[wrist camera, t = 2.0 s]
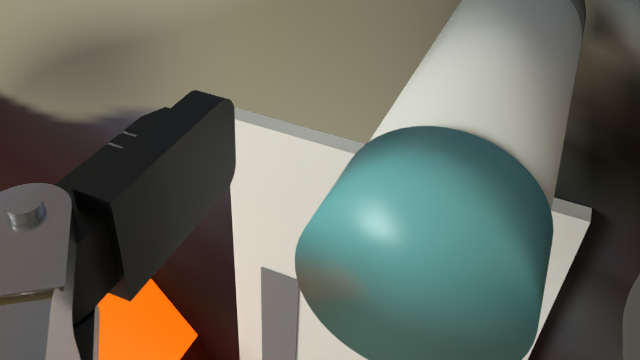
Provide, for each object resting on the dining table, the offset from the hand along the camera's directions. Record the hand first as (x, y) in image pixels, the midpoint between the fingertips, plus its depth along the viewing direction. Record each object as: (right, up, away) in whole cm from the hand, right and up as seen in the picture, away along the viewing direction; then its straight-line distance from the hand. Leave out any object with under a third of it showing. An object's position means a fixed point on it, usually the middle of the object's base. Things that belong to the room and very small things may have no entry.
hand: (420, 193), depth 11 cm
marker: (+4, +5, +7) cm, 10 cm away
